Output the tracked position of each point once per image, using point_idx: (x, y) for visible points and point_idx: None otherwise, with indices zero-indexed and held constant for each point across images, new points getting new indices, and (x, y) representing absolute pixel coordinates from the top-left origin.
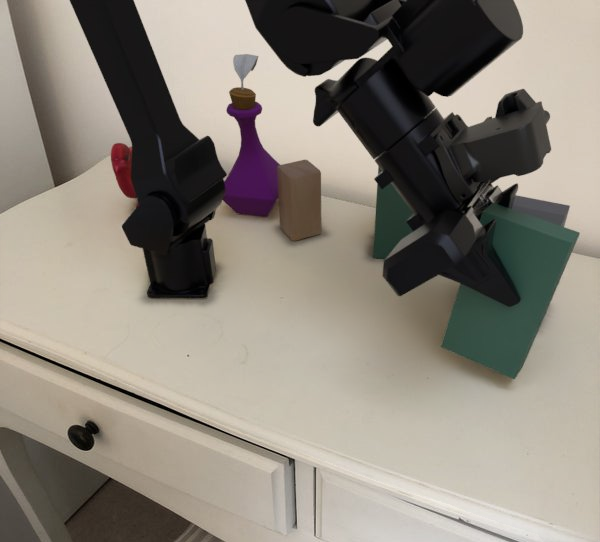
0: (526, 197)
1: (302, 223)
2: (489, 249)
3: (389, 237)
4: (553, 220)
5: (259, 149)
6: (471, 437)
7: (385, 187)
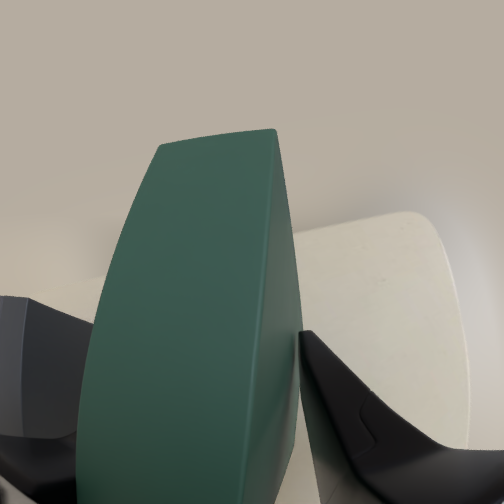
0: None
1: None
2: (412, 458)
3: None
4: (14, 314)
5: None
6: (395, 342)
7: None
